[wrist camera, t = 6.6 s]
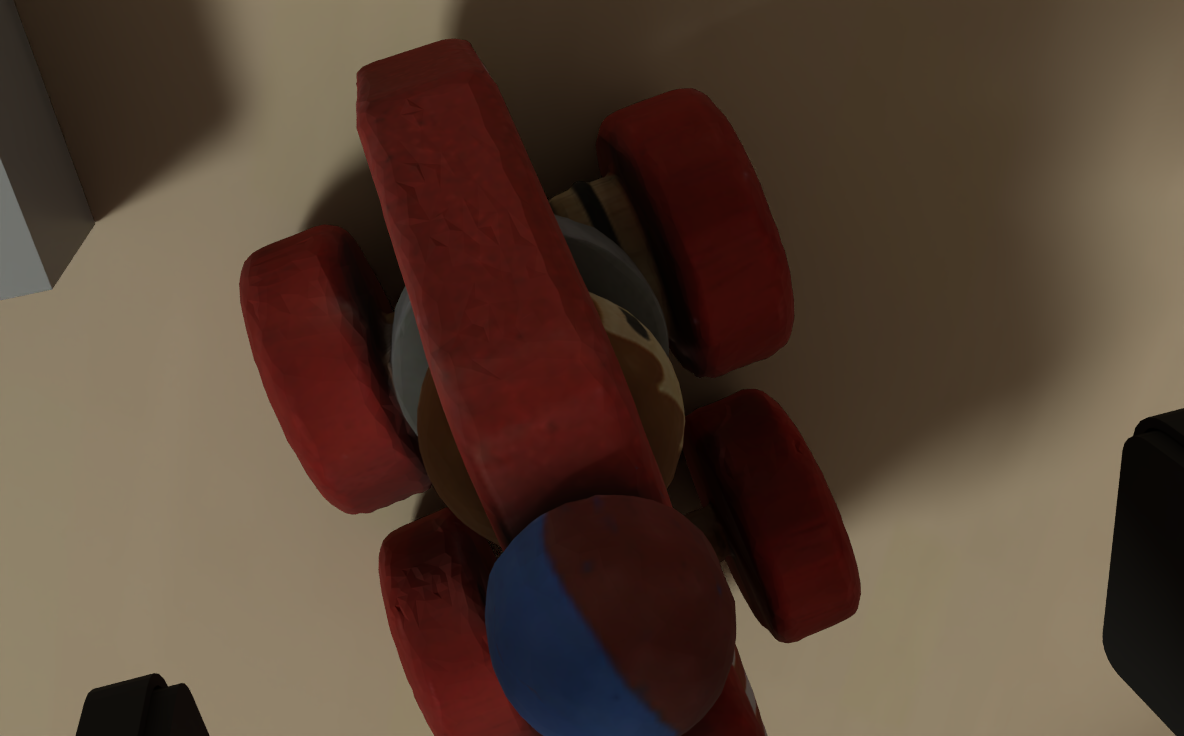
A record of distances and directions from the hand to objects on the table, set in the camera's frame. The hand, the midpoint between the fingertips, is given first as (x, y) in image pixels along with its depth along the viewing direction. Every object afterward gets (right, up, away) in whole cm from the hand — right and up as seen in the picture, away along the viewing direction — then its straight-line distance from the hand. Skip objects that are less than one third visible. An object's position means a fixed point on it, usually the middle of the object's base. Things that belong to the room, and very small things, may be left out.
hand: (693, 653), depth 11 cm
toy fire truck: (-2, +3, +8) cm, 9 cm away
